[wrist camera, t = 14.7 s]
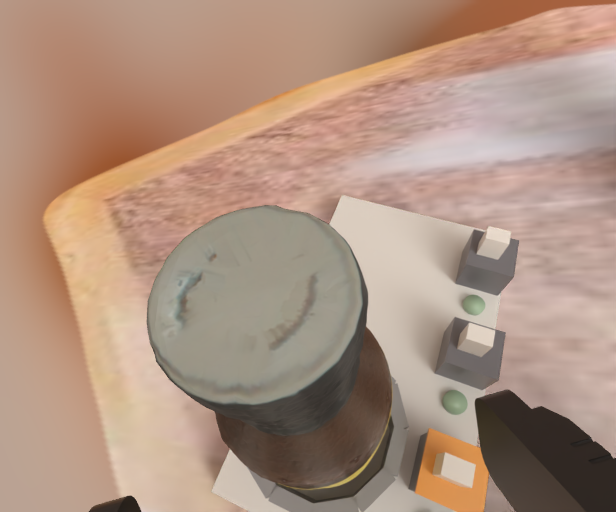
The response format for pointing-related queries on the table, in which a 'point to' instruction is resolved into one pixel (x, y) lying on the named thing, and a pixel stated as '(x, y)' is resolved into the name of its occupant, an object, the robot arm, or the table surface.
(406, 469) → the breaker board
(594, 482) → the robot arm
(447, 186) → the table surface
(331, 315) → the sauce bottle
